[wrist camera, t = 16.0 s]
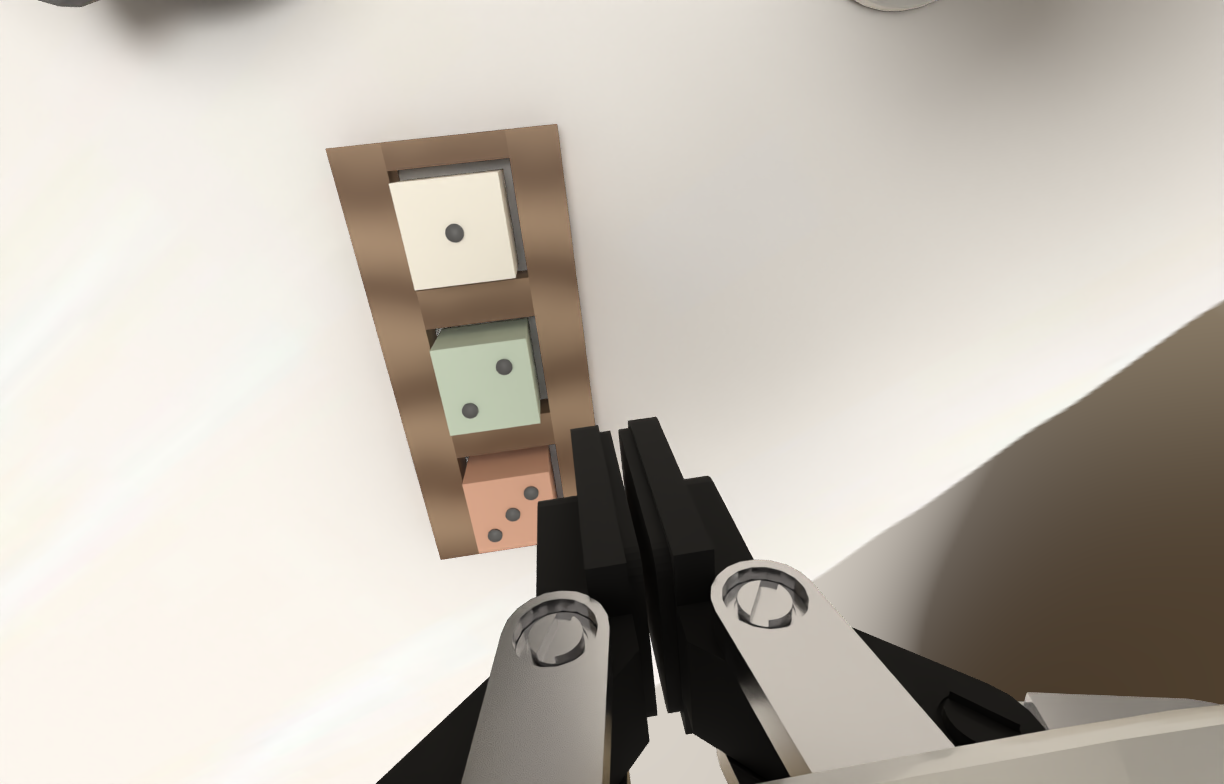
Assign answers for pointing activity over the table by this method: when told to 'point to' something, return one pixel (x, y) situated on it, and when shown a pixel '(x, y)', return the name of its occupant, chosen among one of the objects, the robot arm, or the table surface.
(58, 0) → the vessel
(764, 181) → the table surface
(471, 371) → the tile two pip
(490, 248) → the tile one pip
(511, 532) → the tile three pip
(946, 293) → the table surface
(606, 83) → the table surface
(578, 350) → the tray
